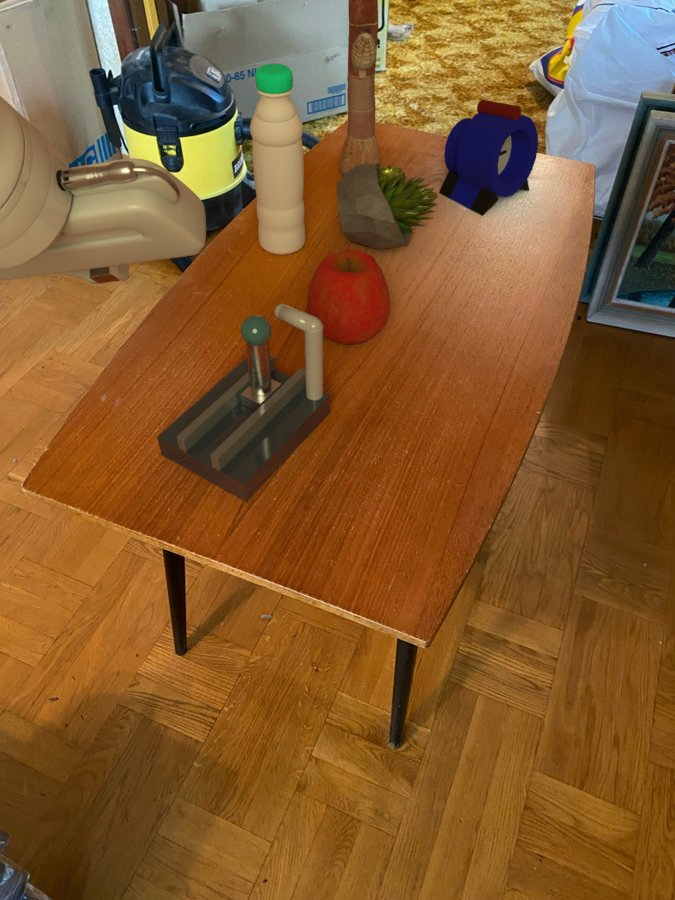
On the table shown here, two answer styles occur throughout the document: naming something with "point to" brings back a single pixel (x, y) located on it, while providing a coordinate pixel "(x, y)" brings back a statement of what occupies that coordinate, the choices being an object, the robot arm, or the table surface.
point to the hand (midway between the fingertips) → (112, 273)
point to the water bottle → (278, 162)
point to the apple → (349, 297)
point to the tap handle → (257, 362)
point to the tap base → (252, 419)
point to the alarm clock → (489, 156)
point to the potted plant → (381, 205)
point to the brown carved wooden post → (361, 87)
